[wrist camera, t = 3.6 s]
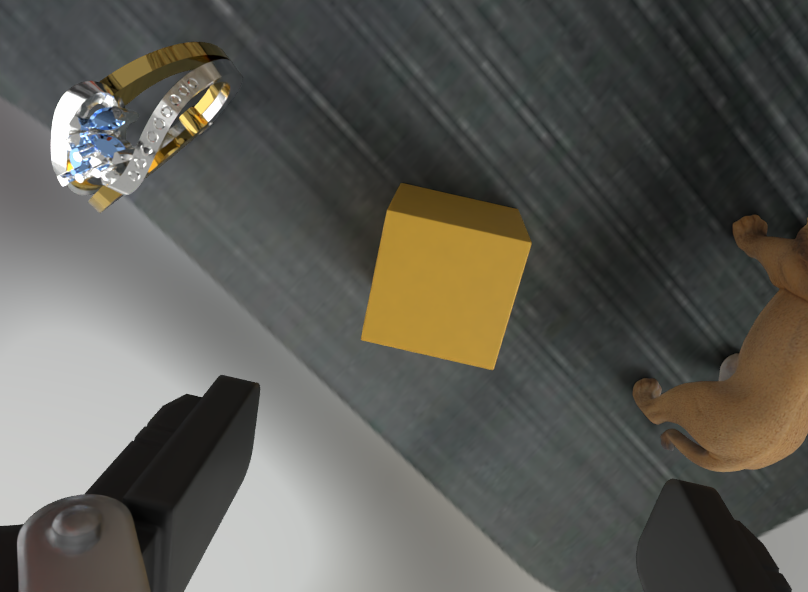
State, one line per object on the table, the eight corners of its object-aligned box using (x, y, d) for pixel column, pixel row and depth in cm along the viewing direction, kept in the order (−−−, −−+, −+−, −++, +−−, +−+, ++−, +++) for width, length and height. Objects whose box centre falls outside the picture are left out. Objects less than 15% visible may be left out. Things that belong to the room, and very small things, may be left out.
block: (377, 292, 26) (360, 340, 22) (400, 182, 25) (387, 209, 20) (487, 317, 26) (493, 370, 22) (518, 209, 24) (532, 242, 20)
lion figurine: (748, 110, 22) (920, 135, 14) (885, 144, 22) (1138, 190, 14) (610, 428, 28) (674, 583, 19) (720, 455, 28) (831, 623, 19)
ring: (171, 201, 26) (54, 256, 18) (118, 140, 25) (-27, 171, 18) (290, 98, 24) (213, 113, 16) (236, 29, 23) (129, 11, 16)
